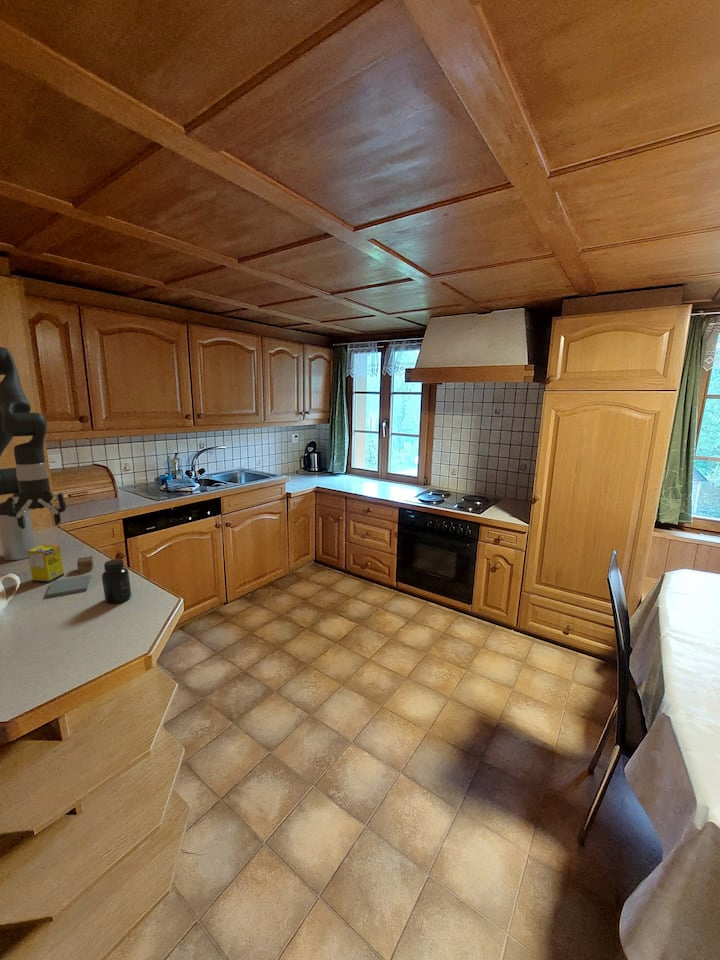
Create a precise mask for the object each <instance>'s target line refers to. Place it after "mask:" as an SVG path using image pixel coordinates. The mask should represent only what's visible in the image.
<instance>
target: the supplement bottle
mask: <svg viewBox="0 0 720 960" xmlns="http://www.w3.org/2000/svg"><path fill="white" fill-rule="evenodd" d="M103 565H104V571H103V573H102V574H101V581H102V587H103V594H104V595H103V596H104V601H105V602H106V603H107V604H109V605H117V604H121V603H125V602H126V601H128V600H129V599H130V598H131V597H132V590H131V581H130V572H129V569H128V568H126V567H125V564H124V560H123V559H120V558H115V559H109V560H108V561H107V560H106V562H104V564H103Z"/></svg>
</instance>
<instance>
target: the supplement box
mask: <svg viewBox="0 0 720 960" xmlns="http://www.w3.org/2000/svg"><path fill="white" fill-rule="evenodd" d="M28 556H29V557H28V562H29V567H30V573H31V578H32V583H33V582H34V583H47V584H49V583H52V581H55V580H58V579H59V578H61V577H63V576H64V575H65V573H64V568H63V567H64V566H63V561H62V553H61V547H60V545H59V544H46V543H45V544H41V545H38V546H35V548H33V549H31V550H28Z"/></svg>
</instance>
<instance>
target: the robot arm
mask: <svg viewBox="0 0 720 960" xmlns="http://www.w3.org/2000/svg"><path fill="white" fill-rule="evenodd" d="M0 376H4V377H3V379H1V381H0V457H1V456H2V455H3V453H4V451H5V449H6V448H7V447H8V446H9V444H10V442H11V441H12V439H13V438H14V437H31V439H30V440H29V441H27V442H23V443H19V444H17V445H15V446H14V447H13V454H14V460H15V467H9V468H0V496H4V495H5V496H6V495H11V496H9V497H8V498H6V500H5V501H3V502H0V544H1V549H2V555H3V560H5V561H18V560H24V559H27V558H29V556H28V550H31V549H33V548H36V542H35V538H34V530H33V524H32V518H31V512H30V511H31V510H35V509H40V510H42V509H45V508H46V509H47V510H49V511H50V512H52V513H53V519H54V525H55V526H58V525H59V524H60V523H61V521H62V518H61V516H62V515H61V513H62V512H65V511H66V510H67V504H66V500H65V495H64V492H61V491H60V492H59V493H54V494H53V493H52V492H51V486H50V479H49V471H48V467H47V464H46V459H45V452H44V446H45V444H44V443H45V437H46V433H47V429H48V428H47V427H48V422H47V419H46V417H45V416H44V415H43V414H41V413H40V412H31V411H32V406H31V404H30V402H29V400H28V398H27V397H26V394H25V392H24V390H23V387H22V385H21V381H20V376H19V373H18V368H17V365H16V361H15V360H14V357H13V355H12V353H11V351H10V350H9V349H8V348H6V347H3V346H0ZM53 499H55V501H58V505H59V508H58V506H56V505H55V504H54V503H53V502H52V500H53Z"/></svg>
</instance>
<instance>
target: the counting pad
mask: <svg viewBox="0 0 720 960" xmlns="http://www.w3.org/2000/svg"><path fill="white" fill-rule="evenodd" d="M89 580H91V575H90V574H87V575H81V576H74V577H69V578H68V577H67V578H61V579H56V580H54V581H52V582H50V583H51V584H50V586H49V588H48V590H47V592H46V594H45V596H46V598H47V597H48V598H53V597H58V596H64V594H65V595H69V594H74V593H75V594H76V593H81V592H86V591H88V588H89V587H88V586H89V583H90V581H89ZM52 596H53V597H52Z"/></svg>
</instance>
